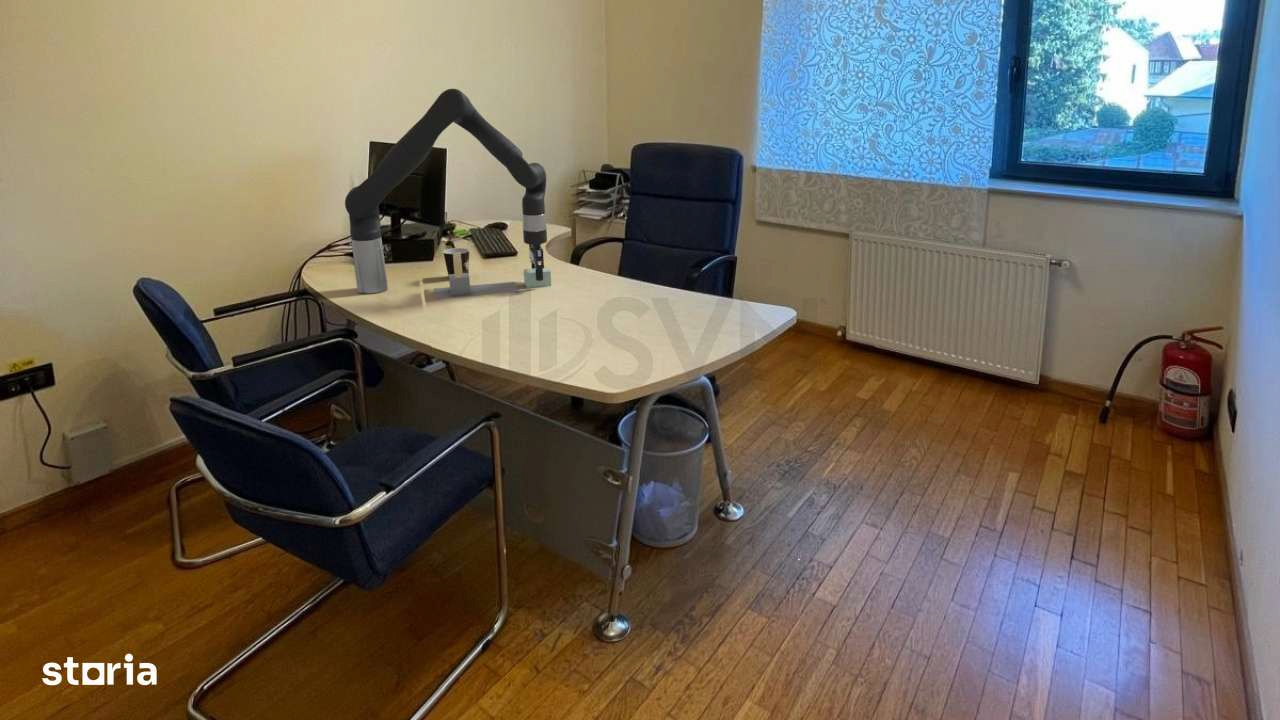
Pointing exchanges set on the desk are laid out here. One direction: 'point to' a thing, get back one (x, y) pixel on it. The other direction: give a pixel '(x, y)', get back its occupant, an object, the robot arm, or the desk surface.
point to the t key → (457, 264)
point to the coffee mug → (450, 264)
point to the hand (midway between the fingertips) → (537, 277)
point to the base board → (472, 288)
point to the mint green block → (531, 278)
